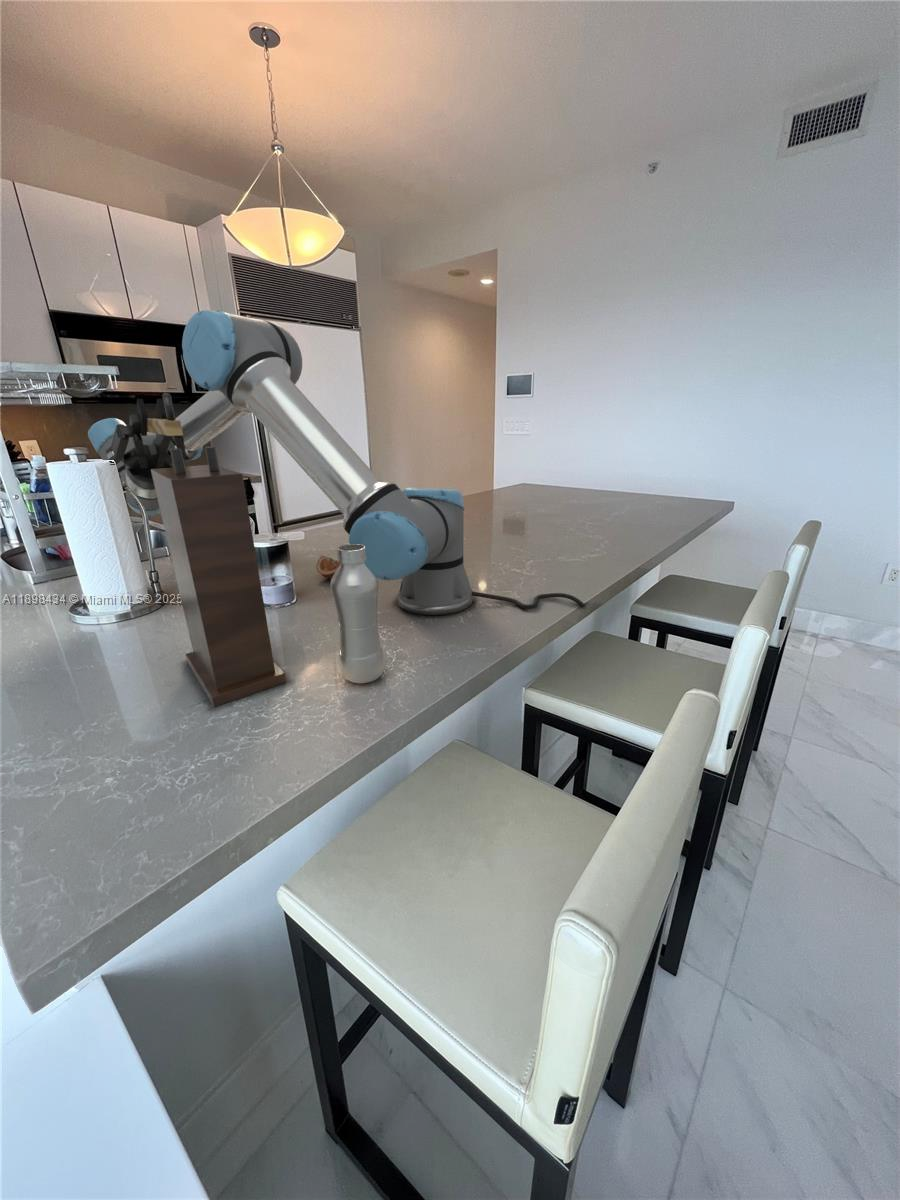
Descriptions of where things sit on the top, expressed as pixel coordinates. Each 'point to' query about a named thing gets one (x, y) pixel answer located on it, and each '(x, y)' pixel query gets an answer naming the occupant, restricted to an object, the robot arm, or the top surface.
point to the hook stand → (217, 577)
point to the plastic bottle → (357, 616)
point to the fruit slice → (327, 566)
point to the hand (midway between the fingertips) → (152, 406)
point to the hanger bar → (165, 421)
